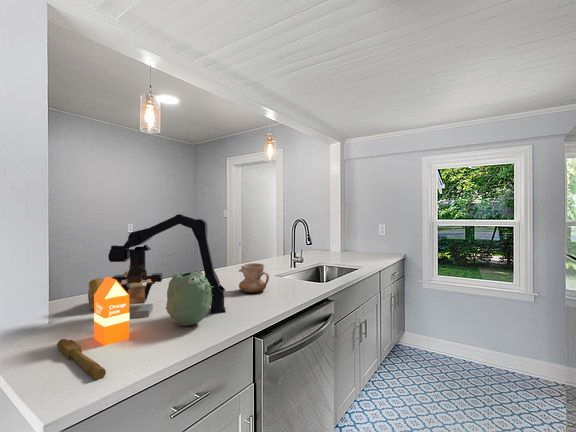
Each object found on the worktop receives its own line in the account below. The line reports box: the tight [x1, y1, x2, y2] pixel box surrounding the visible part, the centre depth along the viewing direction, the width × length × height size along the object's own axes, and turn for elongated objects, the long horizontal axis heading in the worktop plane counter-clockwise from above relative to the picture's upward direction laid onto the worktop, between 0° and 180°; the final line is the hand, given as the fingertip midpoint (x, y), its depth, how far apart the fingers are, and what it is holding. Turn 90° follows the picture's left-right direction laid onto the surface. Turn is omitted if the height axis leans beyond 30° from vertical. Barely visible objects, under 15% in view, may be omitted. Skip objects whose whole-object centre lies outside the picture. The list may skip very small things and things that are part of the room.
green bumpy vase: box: [165, 270, 213, 327], centre depth 114 cm, size 16×19×20 cm
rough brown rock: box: [87, 270, 144, 310], centre depth 140 cm, size 23×17×15 cm
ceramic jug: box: [238, 262, 270, 294], centre depth 164 cm, size 18×14×14 cm
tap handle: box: [56, 338, 107, 381], centre depth 86 cm, size 3×3×30 cm
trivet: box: [129, 303, 154, 319], centre depth 126 cm, size 10×10×2 cm
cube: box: [128, 284, 148, 305], centre depth 126 cm, size 6×6×6 cm
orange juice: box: [93, 276, 130, 347], centre depth 101 cm, size 8×9×20 cm
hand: (137, 299), depth 126 cm, fingers closed on cube, 6 cm apart
